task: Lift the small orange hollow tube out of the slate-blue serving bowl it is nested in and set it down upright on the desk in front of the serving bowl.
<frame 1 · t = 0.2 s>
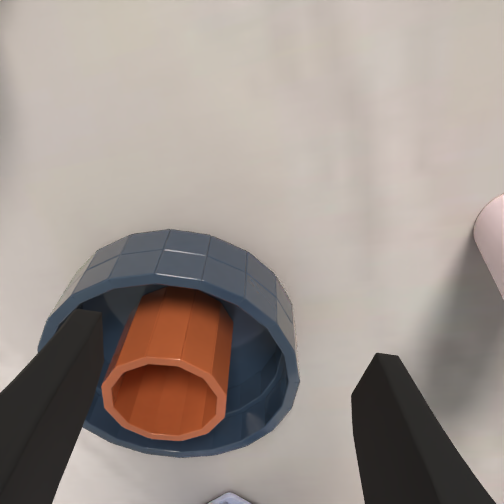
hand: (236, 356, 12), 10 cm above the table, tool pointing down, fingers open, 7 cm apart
orange hollow tube: (181, 327, 25), resting on serving bowl
serving bowl: (183, 321, 25), on the table, touching orange hollow tube
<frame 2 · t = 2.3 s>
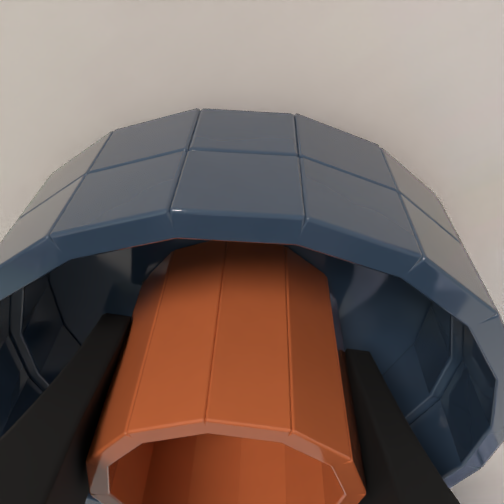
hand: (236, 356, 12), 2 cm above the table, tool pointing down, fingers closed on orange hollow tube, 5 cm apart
orange hollow tube: (238, 313, 13), resting on serving bowl, touching gripper
serving bowl: (240, 301, 13), on the table, touching orange hollow tube
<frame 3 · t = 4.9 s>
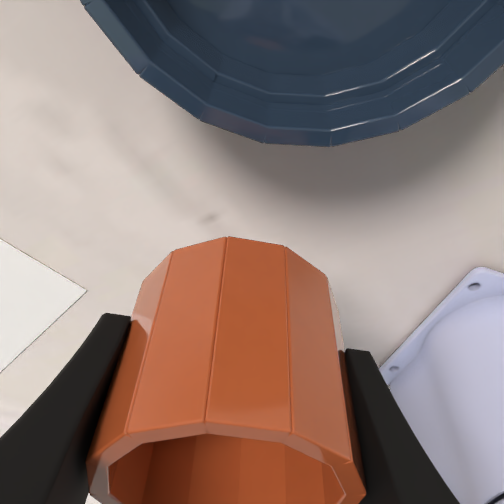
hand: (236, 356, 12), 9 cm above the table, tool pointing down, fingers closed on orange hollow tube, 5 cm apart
orange hollow tube: (238, 313, 13), point 7 cm above the table, touching gripper
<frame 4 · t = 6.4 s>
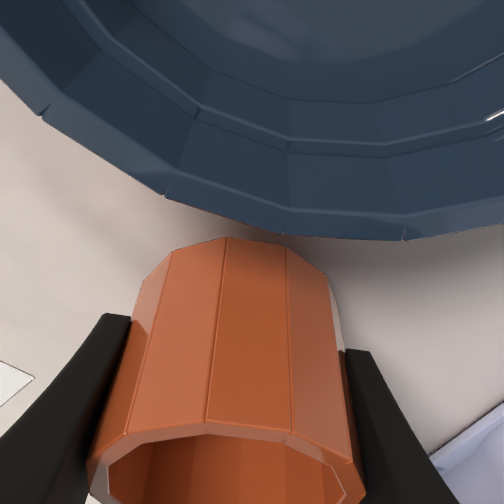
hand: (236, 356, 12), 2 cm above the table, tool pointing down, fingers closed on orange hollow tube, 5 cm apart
orange hollow tube: (238, 314, 13), point 1 cm above the table, touching gripper
when the fingers open (1 cm above the table, at t = 7.3 s): orange hollow tube stays where it is, on the table.
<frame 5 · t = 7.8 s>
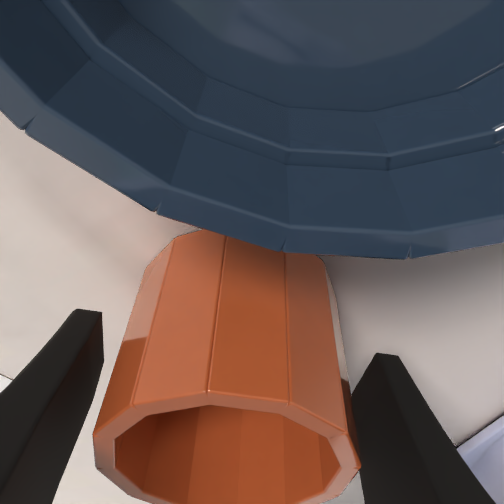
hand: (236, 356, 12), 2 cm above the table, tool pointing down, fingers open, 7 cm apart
orange hollow tube: (238, 300, 13), on the table
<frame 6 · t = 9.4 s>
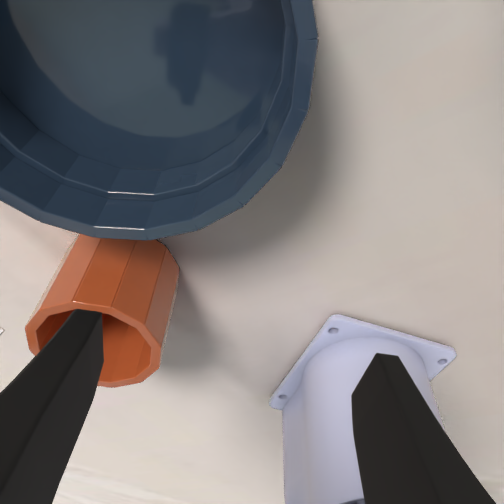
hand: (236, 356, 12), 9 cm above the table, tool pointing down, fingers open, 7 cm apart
orange hollow tube: (124, 270, 23), on the table
serving bowl: (127, 25, 15), on the table
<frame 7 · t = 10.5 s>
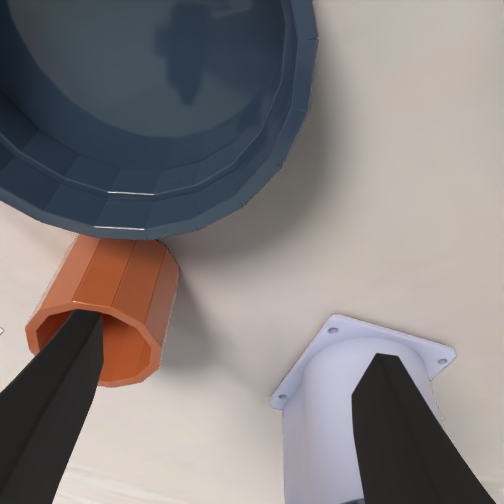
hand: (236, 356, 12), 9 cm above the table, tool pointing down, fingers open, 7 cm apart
orange hollow tube: (124, 270, 23), on the table
serving bowl: (127, 25, 15), on the table
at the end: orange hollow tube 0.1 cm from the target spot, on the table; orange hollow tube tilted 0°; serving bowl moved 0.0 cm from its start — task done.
